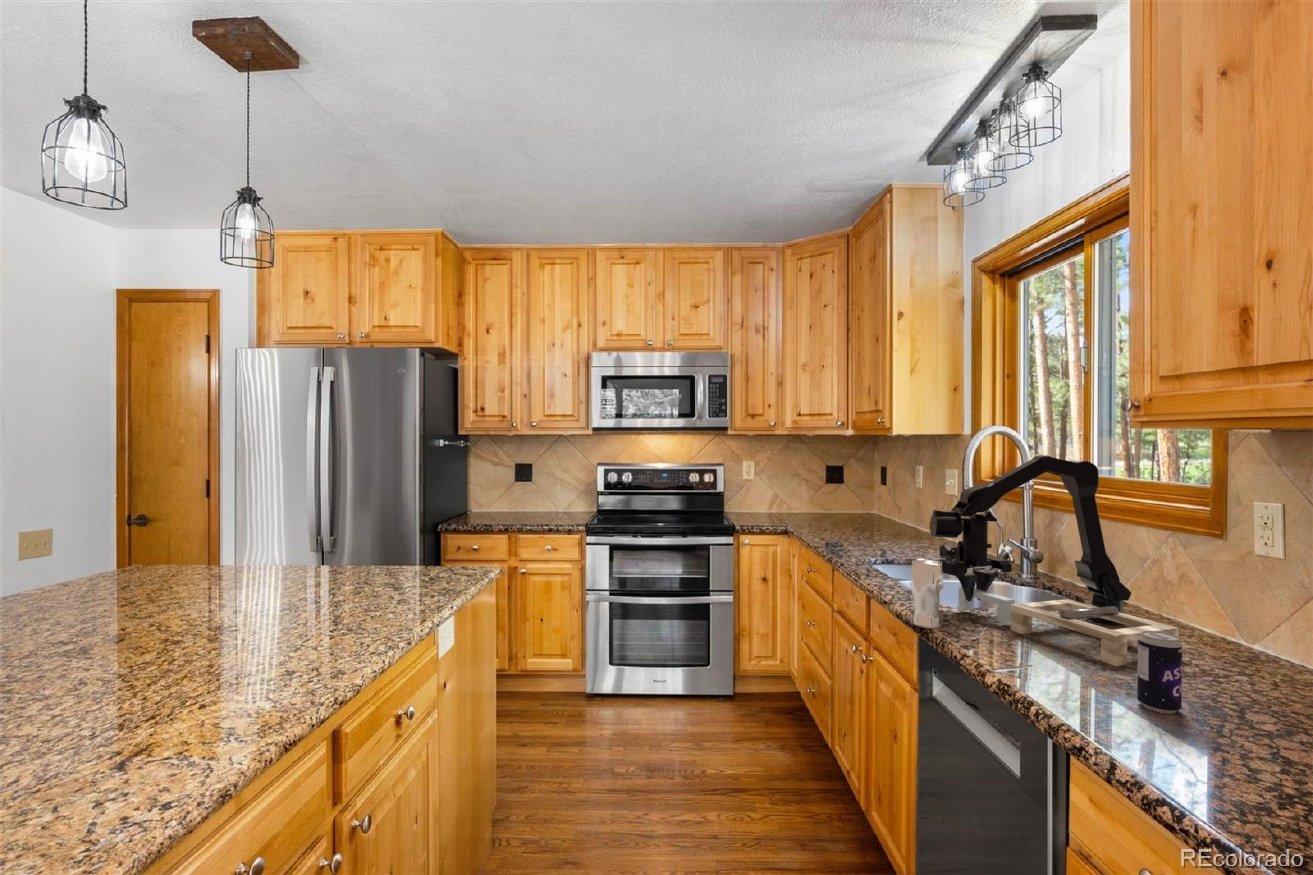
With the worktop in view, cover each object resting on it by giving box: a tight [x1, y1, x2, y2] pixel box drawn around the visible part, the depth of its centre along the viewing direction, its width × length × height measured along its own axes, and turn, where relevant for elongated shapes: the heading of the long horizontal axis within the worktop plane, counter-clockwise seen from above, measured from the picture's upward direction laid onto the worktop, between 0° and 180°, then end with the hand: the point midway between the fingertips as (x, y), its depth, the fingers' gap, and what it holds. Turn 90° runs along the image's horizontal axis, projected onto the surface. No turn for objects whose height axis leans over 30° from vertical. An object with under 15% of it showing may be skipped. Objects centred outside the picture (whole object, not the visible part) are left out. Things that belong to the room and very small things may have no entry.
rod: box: [1060, 606, 1119, 620], centre depth 137 cm, size 15×2×2 cm, turn 109°
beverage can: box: [1136, 631, 1183, 715], centre depth 103 cm, size 6×6×12 cm
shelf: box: [1010, 598, 1180, 667], centre depth 137 cm, size 18×24×6 cm
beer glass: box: [910, 558, 944, 629], centre depth 148 cm, size 7×7×15 cm
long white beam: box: [957, 586, 1016, 625], centre depth 154 cm, size 3×14×6 cm, turn 19°
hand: (974, 600), depth 157 cm, fingers closed on long white beam, 3 cm apart
